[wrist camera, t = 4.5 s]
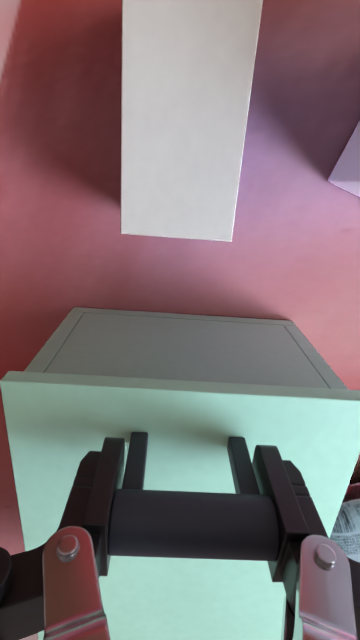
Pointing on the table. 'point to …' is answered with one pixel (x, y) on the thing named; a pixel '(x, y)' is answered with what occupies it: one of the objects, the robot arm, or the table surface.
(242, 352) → the box
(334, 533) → the packaged food
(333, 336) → the table surface
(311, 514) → the robot arm
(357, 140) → the milk carton
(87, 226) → the table surface
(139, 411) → the lid
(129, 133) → the snack box
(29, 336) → the table surface
